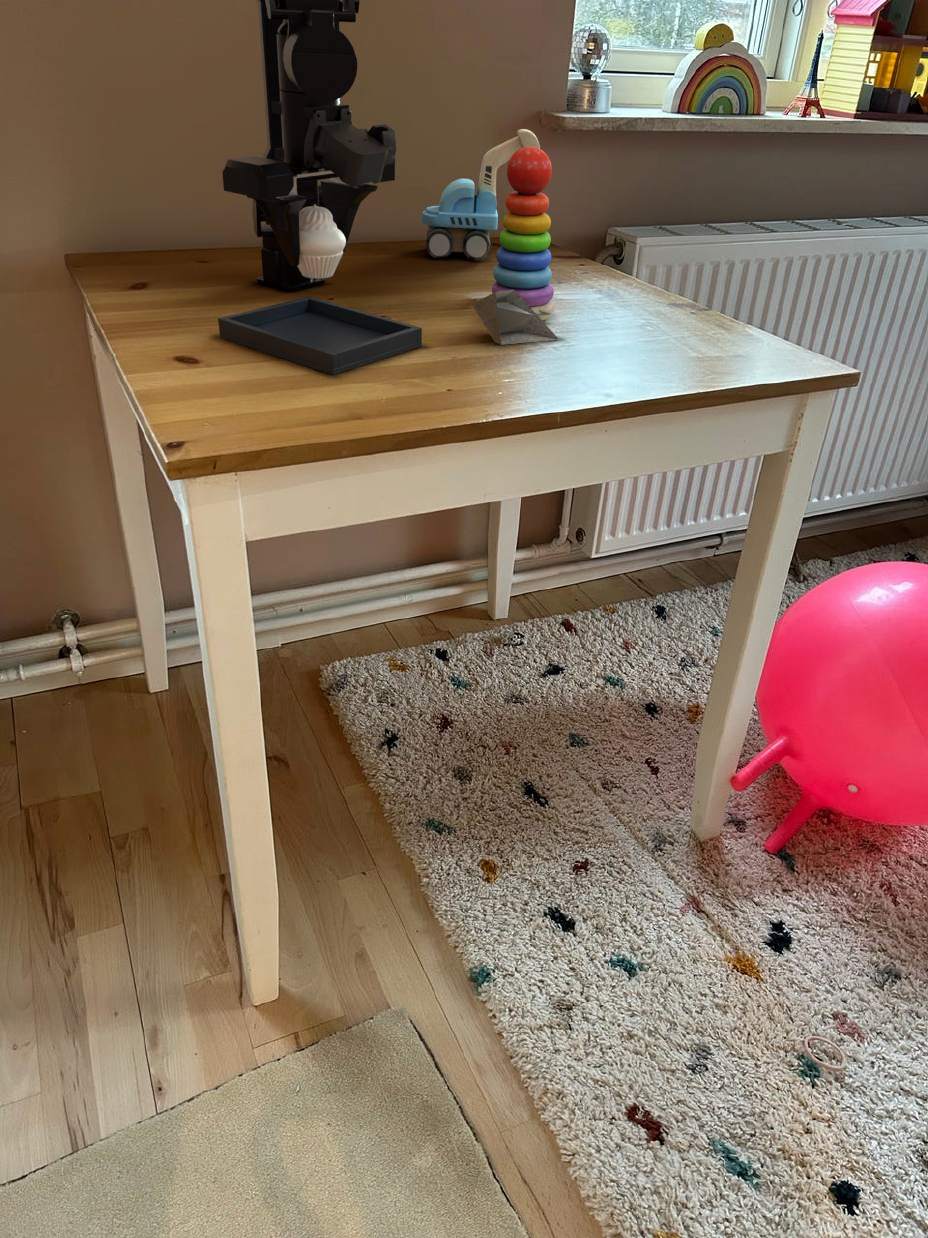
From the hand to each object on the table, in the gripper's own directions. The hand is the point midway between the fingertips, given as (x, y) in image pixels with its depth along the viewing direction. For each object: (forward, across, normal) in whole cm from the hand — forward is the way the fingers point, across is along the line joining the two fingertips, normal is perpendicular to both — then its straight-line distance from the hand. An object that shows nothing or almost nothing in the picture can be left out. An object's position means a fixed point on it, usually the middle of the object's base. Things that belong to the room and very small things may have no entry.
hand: (316, 260), depth 100 cm
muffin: (+2, 0, 0) cm, 2 cm away
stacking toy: (+9, +25, -9) cm, 28 cm away
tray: (+9, 0, 0) cm, 9 cm away
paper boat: (+9, +15, -15) cm, 23 cm away
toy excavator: (+9, +47, +15) cm, 50 cm away
